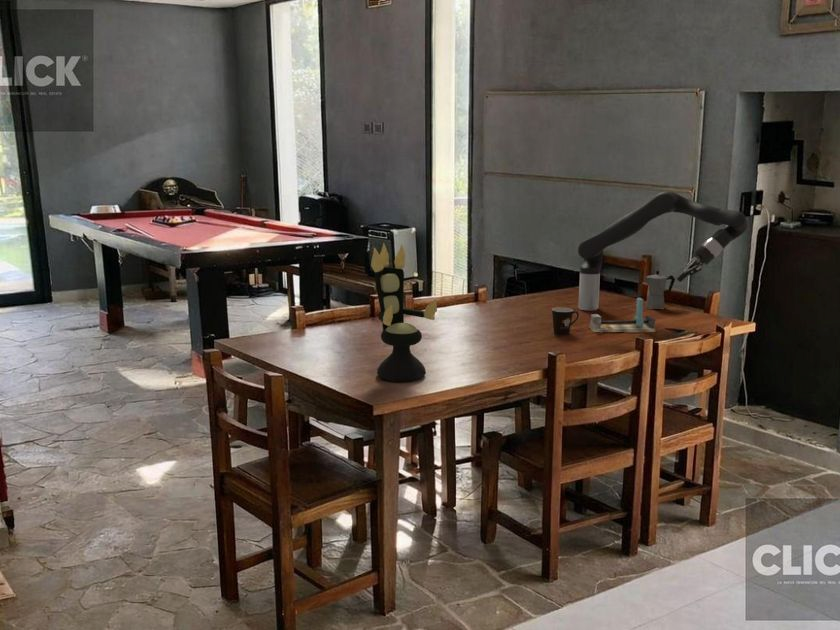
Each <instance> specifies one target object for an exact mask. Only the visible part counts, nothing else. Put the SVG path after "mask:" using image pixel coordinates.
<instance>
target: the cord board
mask: <svg viewBox="0 0 840 630" xmlns="http://www.w3.org/2000/svg"><path fill="white" fill-rule="evenodd" d="M634 323H636V321H634V320H602V316H600V315H599V314H597V313H594V314H592V313H591V314H590V324H589V327H588V329H589V328H590V329H591V330H590V329H589V330H590V331H592V332H593V333H594V332H601V333H600V334H602V332H624V333H656V318H655V317H653V316H651V315H645V319H644V326H640V327H636V325H634Z"/></svg>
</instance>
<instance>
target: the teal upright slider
mask: <svg viewBox="0 0 840 630" xmlns="http://www.w3.org/2000/svg"><path fill="white" fill-rule="evenodd" d="M643 312H644V299H643V298H641V297H636V307H635V316H633V321H636V323H633V324H634V325H636V327H640V326H644V324H645V323H644V320H645V318H644V317H643Z"/></svg>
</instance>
